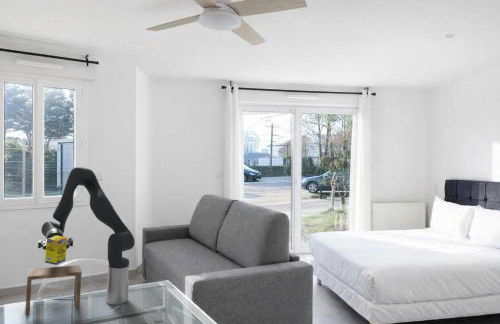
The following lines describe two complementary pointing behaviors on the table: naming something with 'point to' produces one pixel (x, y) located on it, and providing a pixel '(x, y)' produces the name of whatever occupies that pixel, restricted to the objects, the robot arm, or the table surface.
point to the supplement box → (56, 250)
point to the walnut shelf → (54, 273)
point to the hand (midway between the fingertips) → (56, 247)
